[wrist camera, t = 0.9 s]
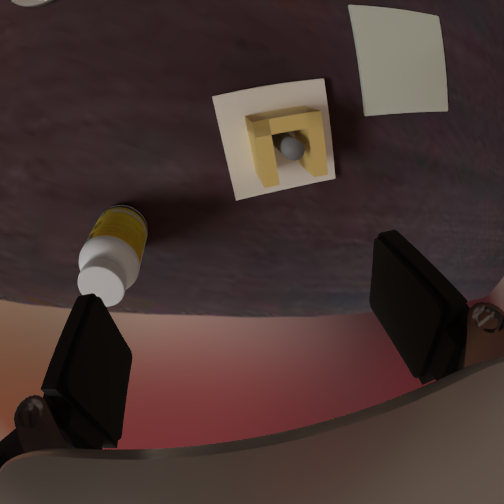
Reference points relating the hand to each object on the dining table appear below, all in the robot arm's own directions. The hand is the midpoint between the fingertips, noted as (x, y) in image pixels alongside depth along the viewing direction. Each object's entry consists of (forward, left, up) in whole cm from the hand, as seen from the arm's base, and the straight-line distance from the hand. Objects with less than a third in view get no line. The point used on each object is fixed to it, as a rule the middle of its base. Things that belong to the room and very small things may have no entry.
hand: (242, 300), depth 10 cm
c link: (+1, +7, -25) cm, 26 cm away
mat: (-7, +25, -26) cm, 37 cm away
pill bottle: (+7, -13, -26) cm, 30 cm away
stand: (+1, +7, -26) cm, 27 cm away
